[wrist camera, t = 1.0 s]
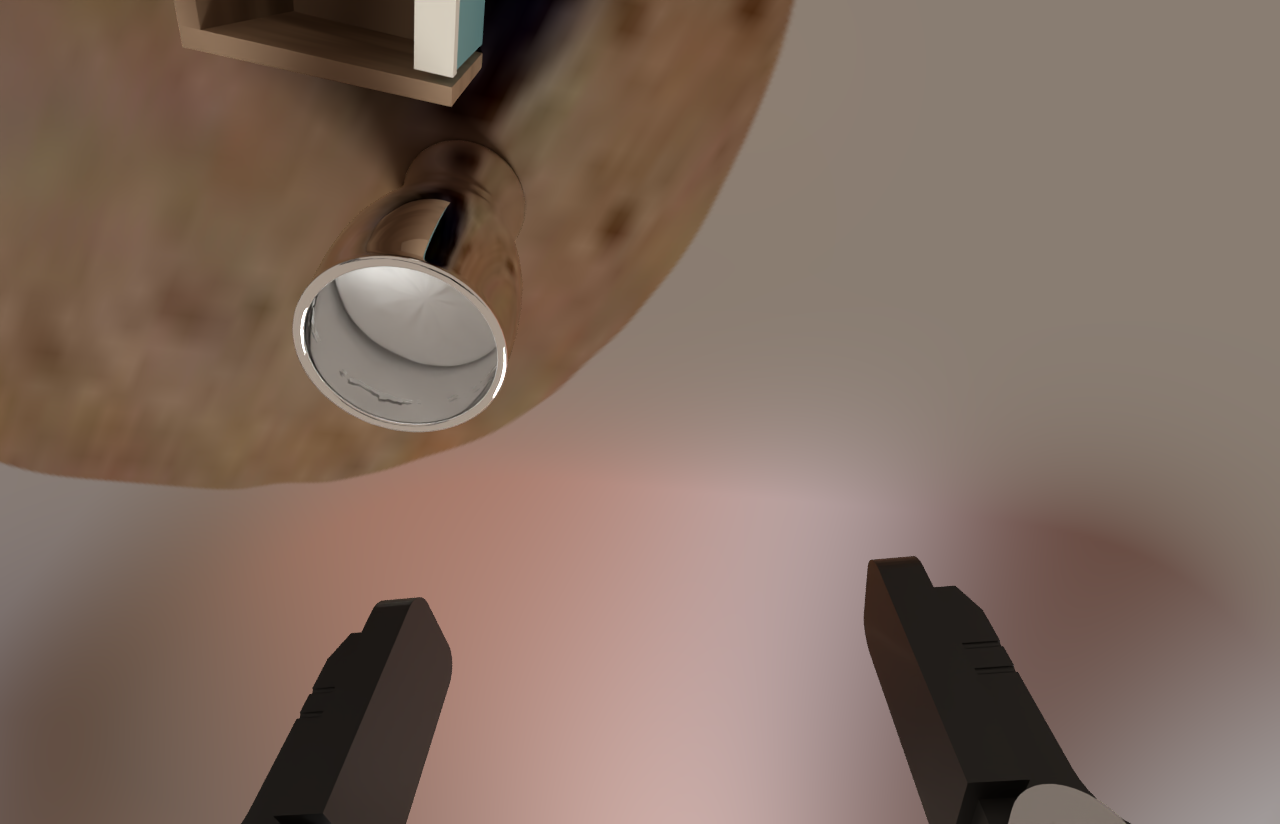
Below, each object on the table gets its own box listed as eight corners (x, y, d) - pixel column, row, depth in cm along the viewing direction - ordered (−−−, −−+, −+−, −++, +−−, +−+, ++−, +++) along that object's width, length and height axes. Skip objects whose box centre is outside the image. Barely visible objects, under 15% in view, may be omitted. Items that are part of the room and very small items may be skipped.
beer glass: (463, 97, 28) (387, 199, 16) (561, 212, 32) (558, 364, 20) (365, 190, 30) (235, 341, 18) (468, 288, 34) (414, 467, 22)
